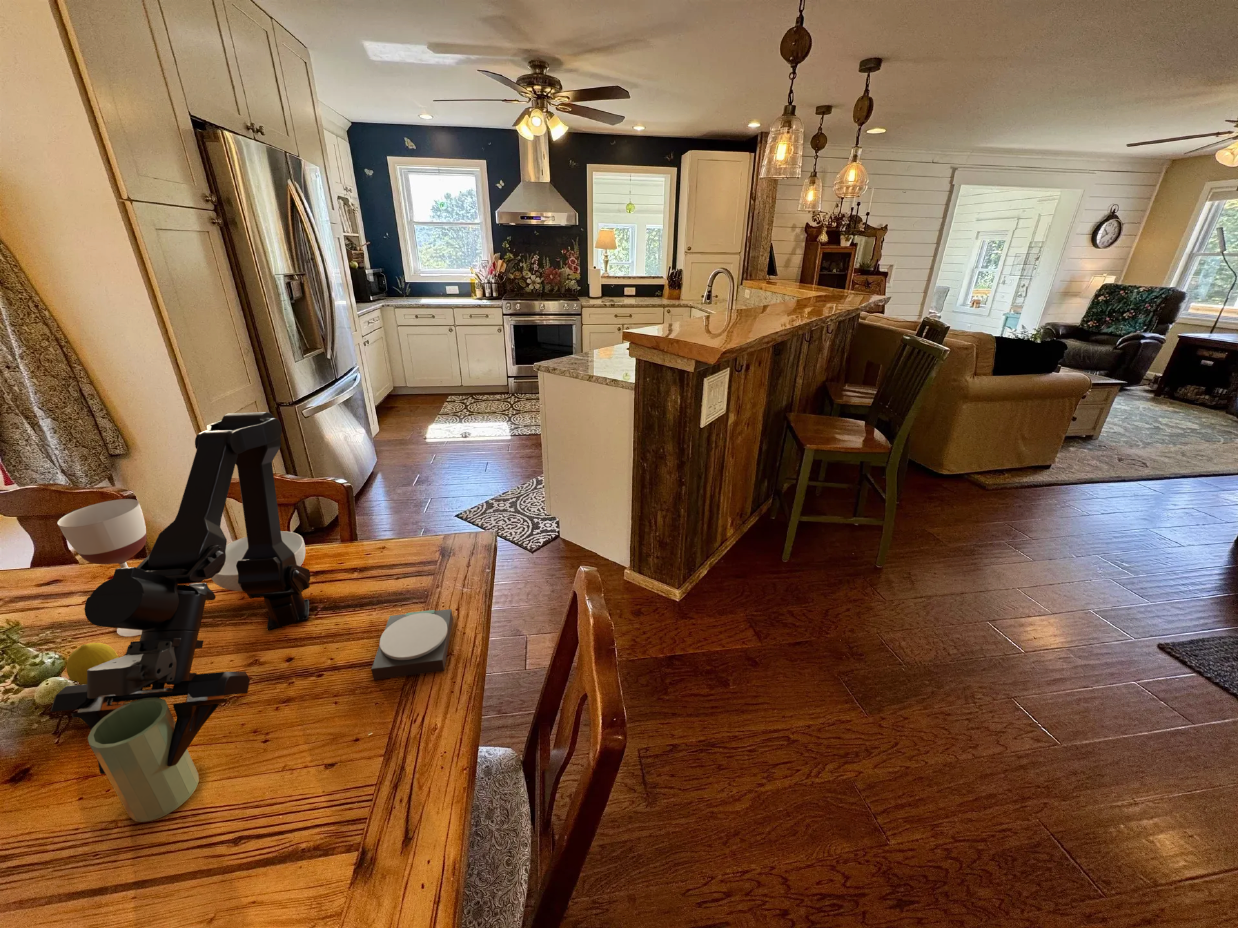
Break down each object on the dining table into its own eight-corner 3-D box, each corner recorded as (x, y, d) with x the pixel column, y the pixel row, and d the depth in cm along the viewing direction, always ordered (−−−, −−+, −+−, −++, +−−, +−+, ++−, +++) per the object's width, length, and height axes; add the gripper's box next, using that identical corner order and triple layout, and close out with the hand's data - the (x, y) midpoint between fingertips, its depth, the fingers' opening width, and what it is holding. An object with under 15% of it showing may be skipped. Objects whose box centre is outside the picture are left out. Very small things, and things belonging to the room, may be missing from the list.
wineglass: (100, 630, 90) (45, 520, 81) (164, 598, 98) (120, 495, 89) (130, 644, 86) (75, 531, 78) (193, 610, 95) (151, 504, 86)
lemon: (97, 701, 76) (75, 661, 72) (69, 694, 77) (47, 655, 73) (136, 673, 81) (117, 635, 77) (109, 668, 82) (90, 630, 78)
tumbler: (138, 782, 64) (100, 710, 59) (204, 760, 67) (173, 689, 62) (120, 832, 59) (77, 757, 53) (193, 805, 62) (158, 732, 57)
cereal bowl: (290, 600, 98) (281, 570, 95) (197, 608, 95) (185, 578, 93) (323, 553, 114) (316, 527, 111) (243, 559, 111) (234, 532, 108)
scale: (391, 625, 92) (388, 613, 91) (452, 618, 94) (451, 606, 93) (373, 680, 80) (370, 666, 79) (444, 670, 82) (441, 657, 81)
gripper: (28, 635, 56) (-26, 796, 50) (208, 621, 59) (176, 772, 53) (110, 640, 66) (73, 774, 60) (261, 628, 69) (239, 755, 63)
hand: (138, 769), depth 59 cm, fingers closed on tumbler, 7 cm apart
